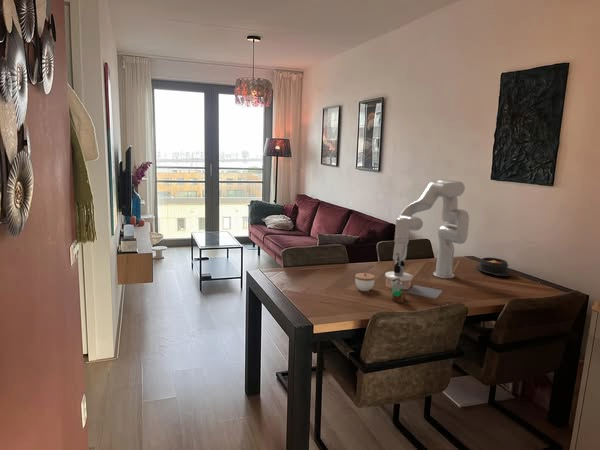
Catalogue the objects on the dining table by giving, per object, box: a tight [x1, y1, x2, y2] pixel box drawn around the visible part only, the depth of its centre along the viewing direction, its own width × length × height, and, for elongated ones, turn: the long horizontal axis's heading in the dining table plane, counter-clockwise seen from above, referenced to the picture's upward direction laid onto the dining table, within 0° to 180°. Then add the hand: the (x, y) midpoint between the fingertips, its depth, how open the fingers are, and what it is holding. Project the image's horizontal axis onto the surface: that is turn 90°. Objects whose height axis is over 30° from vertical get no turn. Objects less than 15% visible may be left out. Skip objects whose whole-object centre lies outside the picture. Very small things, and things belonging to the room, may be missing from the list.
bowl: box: [385, 277, 412, 291], centre depth 243 cm, size 13×13×6 cm
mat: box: [406, 284, 444, 300], centre depth 236 cm, size 16×16×1 cm
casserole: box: [475, 257, 512, 277], centre depth 280 cm, size 25×19×8 cm
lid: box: [384, 266, 413, 281], centre depth 242 cm, size 15×15×6 cm
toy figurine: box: [391, 278, 408, 304], centre depth 222 cm, size 12×6×10 cm, turn 5°
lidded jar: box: [354, 272, 376, 292], centre depth 237 cm, size 11×11×9 cm
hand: (399, 270), depth 242 cm, fingers open, 7 cm apart
